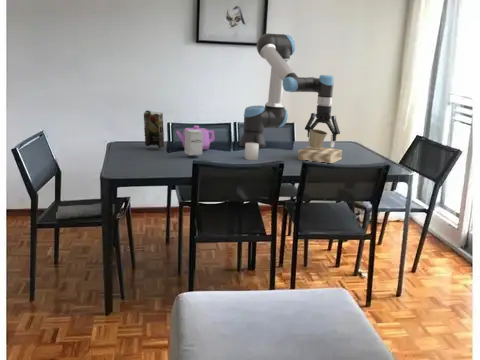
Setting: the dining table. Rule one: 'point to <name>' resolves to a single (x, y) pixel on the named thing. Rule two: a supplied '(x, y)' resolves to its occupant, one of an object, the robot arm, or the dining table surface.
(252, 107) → the robot arm
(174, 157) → the dining table surface
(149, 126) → the juice carton
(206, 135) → the teakettle
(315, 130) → the flower pot
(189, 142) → the supplement box
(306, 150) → the maple block
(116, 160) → the dining table surface
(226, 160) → the dining table surface
